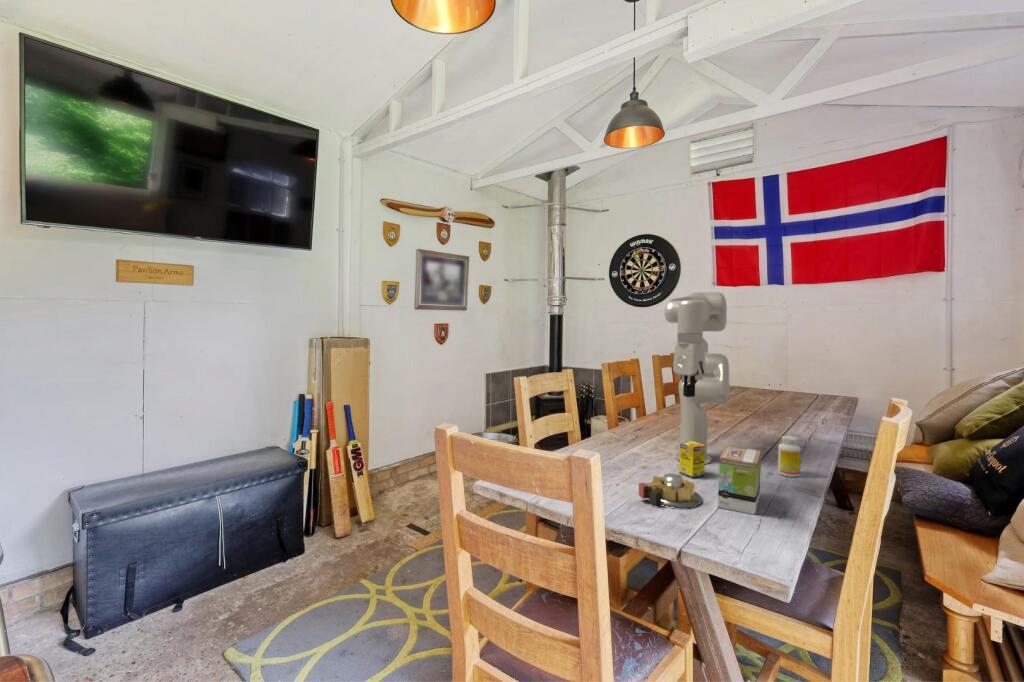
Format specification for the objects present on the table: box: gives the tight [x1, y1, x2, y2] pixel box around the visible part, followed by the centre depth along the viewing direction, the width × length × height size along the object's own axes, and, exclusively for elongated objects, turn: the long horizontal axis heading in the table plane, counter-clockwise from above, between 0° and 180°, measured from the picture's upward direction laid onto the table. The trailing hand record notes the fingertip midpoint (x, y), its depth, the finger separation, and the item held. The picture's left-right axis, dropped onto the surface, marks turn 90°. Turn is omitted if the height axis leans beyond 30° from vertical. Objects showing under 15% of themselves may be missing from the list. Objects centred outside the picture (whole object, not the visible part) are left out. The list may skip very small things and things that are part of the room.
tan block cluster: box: [638, 473, 696, 502], centre depth 137 cm, size 16×12×4 cm
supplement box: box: [678, 441, 706, 479], centre depth 158 cm, size 6×6×11 cm
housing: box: [647, 473, 702, 509], centre depth 138 cm, size 16×18×6 cm
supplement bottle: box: [777, 435, 802, 478], centre depth 158 cm, size 7×7×13 cm
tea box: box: [717, 445, 762, 515], centre depth 134 cm, size 15×10×15 cm
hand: (689, 396), depth 146 cm, fingers closed
